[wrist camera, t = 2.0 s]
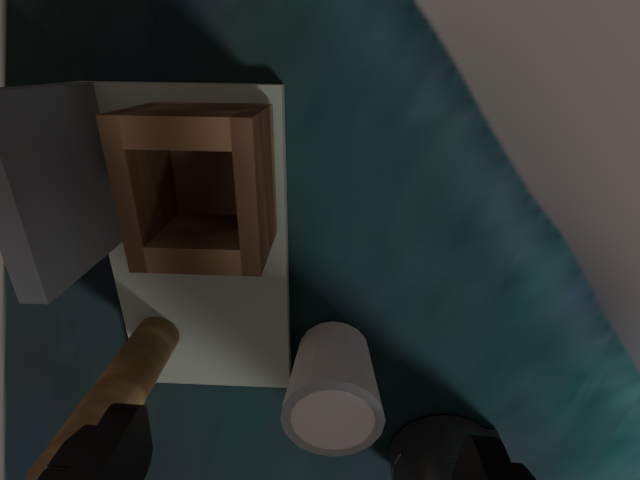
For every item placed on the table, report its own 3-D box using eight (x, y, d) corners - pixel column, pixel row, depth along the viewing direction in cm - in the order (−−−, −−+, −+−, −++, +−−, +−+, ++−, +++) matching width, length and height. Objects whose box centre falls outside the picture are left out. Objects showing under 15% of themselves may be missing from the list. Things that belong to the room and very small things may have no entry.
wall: (93, 82, 23) (-21, 92, 16) (126, 238, 27) (48, 304, 20) (67, 81, 23) (-58, 91, 16) (104, 238, 27) (19, 303, 20)
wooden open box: (272, 104, 23) (251, 117, 17) (277, 231, 26) (261, 276, 21) (152, 101, 23) (95, 115, 18) (172, 228, 26) (129, 272, 21)
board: (284, 84, 24) (281, 85, 23) (291, 377, 33) (289, 387, 32) (80, 80, 24) (67, 81, 23) (145, 371, 34) (138, 381, 33)
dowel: (176, 317, 30) (82, 466, 19) (182, 350, 31) (97, 508, 20) (134, 315, 30) (17, 463, 19) (142, 349, 31) (36, 505, 20)
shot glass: (307, 303, 30) (299, 368, 24) (390, 330, 31) (403, 401, 25) (280, 368, 33) (266, 441, 27) (356, 391, 34) (361, 469, 27)
